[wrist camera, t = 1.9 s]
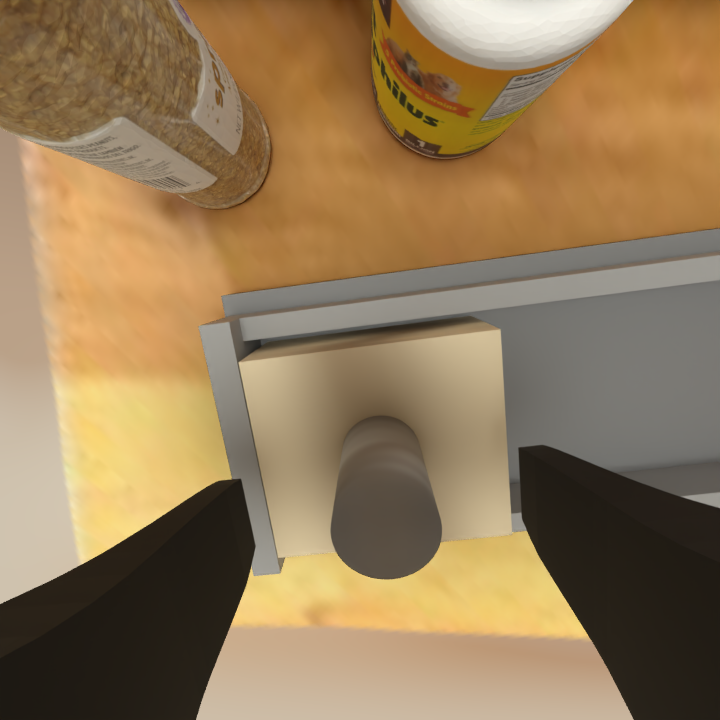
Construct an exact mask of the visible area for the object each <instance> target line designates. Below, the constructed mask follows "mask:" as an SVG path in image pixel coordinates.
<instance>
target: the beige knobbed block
mask: <svg viewBox="0 0 720 720" xmlns="http://www.w3.org/2000/svg"><path fill="white" fill-rule="evenodd" d="M238 363H239V368H240V372H241V377H242V382H243V387H244V392H245V397H246V402H247V407H248V412H249V417H250V422H251V426H252V431H253V436H254V441H255V446H256V451H257V456H258V461H259V466H260V471H261V476H262V480H263V485H264V490H265V495H266V500H267V505H268V510H269V515H270V520H271V525H272V530H273V534H274V539H275V544H276V549H277V554H278V558H283V557H294V556H304V555H314V554H324V553H334V552H337V554H338V556H339V557H340V558H341V559H342V561H343V562H344V563H345V564H346V565H348V566H349V567H350V568H351V569H353V570H355V571H356V572H358V573H360V574H362V575H365V576H368V577H371V578H376V579H396V578H401V577H405V576H408V575H410V574H413V573H415V572H417V571H418V570H420V569H421V568H423V567H424V566H425V565H426V564H427V563H428V562H429V561H430V560H431V559H432V558H433V557H434V555H435V553H436V552H437V550H438V548H439V545H440V542H445V541H455V540H465V539H475V538H485V537H495V536H505V535H512V521H511V504H510V486H509V468H508V451H507V433H506V416H505V398H504V380H503V363H502V345H501V329H499V328H497V327H494V326H492V325H490V324H488V323H486V322H483V321H481V320H479V319H477V318H475V317H472V316H465V317H457V318H449V319H441V320H434V321H426V322H418V323H410V324H402V325H395V326H387V327H379V328H371V329H363V330H356V331H348V332H340V333H332V334H324V335H317V336H309V337H301V338H293V339H285V340H278V341H270V342H267V343H265V344H264V345H262V346H261V347H259V348H258V349H257V350H255V351H254V352H252V353H251V354H250V355H248V356H247V357H245V358H244V359H242V360H241V361H240V362H238Z"/></svg>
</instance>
